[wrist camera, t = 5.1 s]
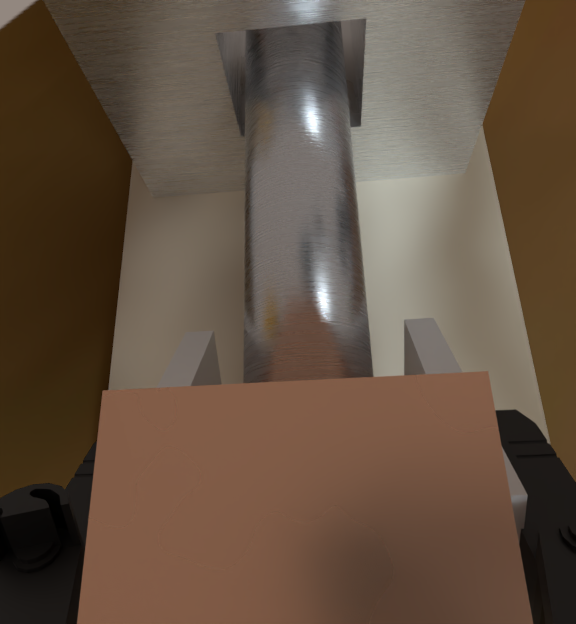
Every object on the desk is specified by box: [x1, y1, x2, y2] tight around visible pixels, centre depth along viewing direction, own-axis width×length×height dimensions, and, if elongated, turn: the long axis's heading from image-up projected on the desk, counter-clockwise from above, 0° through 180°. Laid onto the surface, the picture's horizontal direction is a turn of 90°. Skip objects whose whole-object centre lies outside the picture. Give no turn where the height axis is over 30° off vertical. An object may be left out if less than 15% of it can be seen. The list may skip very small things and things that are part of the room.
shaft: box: [77, 21, 533, 624], centre depth 14 cm, size 5×18×10 cm, turn 2°
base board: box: [108, 126, 550, 444], centre depth 20 cm, size 14×23×1 cm, turn 2°
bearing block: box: [43, 0, 525, 198], centre depth 18 cm, size 12×8×9 cm, turn 92°
